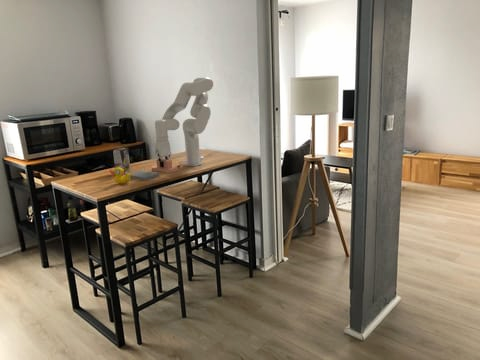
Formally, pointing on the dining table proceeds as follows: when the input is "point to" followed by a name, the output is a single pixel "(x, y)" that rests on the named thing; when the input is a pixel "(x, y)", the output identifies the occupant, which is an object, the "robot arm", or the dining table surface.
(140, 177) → the ticket board
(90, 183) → the dining table surface
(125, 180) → the duckling
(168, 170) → the stub
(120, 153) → the coffee box
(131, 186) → the dining table surface
